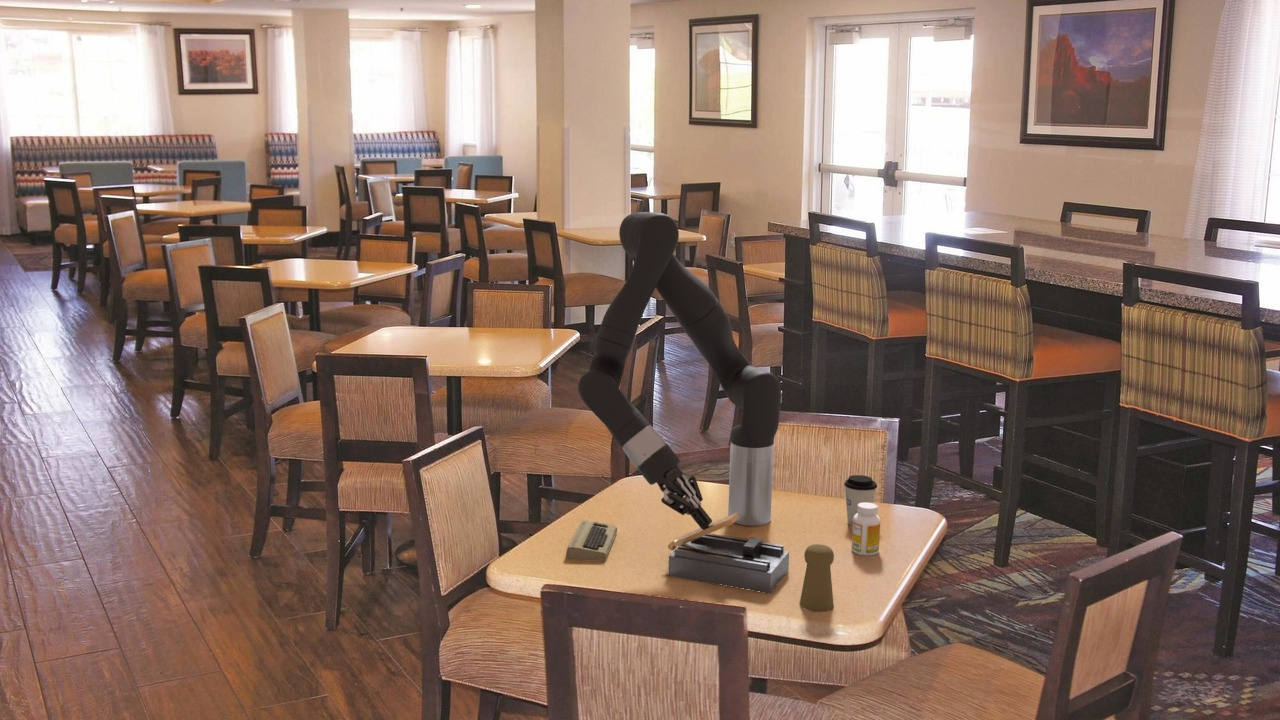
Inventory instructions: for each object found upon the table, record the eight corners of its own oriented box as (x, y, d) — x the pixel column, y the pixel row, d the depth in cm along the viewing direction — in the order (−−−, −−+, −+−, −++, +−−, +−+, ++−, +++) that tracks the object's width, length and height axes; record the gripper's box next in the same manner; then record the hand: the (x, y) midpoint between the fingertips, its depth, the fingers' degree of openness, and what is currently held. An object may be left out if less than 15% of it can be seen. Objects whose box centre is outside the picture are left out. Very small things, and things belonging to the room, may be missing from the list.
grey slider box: (690, 554, 233) (691, 521, 231) (788, 571, 225) (789, 536, 223) (668, 575, 222) (669, 540, 220) (769, 593, 214) (771, 557, 213)
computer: (606, 563, 228) (606, 547, 228) (565, 561, 229) (565, 545, 229) (617, 535, 244) (617, 520, 243) (579, 533, 245) (579, 518, 244)
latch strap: (677, 544, 229) (674, 538, 229) (740, 518, 222) (736, 512, 222) (670, 551, 225) (666, 544, 225) (733, 525, 219) (730, 518, 219)
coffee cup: (878, 520, 254) (881, 476, 252) (870, 530, 248) (873, 485, 246) (846, 515, 257) (849, 471, 255) (838, 525, 251) (840, 480, 249)
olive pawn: (796, 598, 212) (799, 540, 210) (829, 597, 213) (832, 540, 211) (803, 612, 206) (806, 553, 204) (837, 611, 207) (840, 552, 205)
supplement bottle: (880, 548, 238) (883, 502, 236) (876, 557, 233) (879, 511, 231) (853, 545, 239) (856, 499, 237) (849, 554, 234) (852, 507, 232)
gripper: (650, 451, 218) (709, 525, 216) (677, 435, 230) (733, 504, 228) (623, 474, 221) (681, 547, 219) (651, 457, 233) (706, 526, 231)
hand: (707, 525), depth 223 cm, fingers closed
